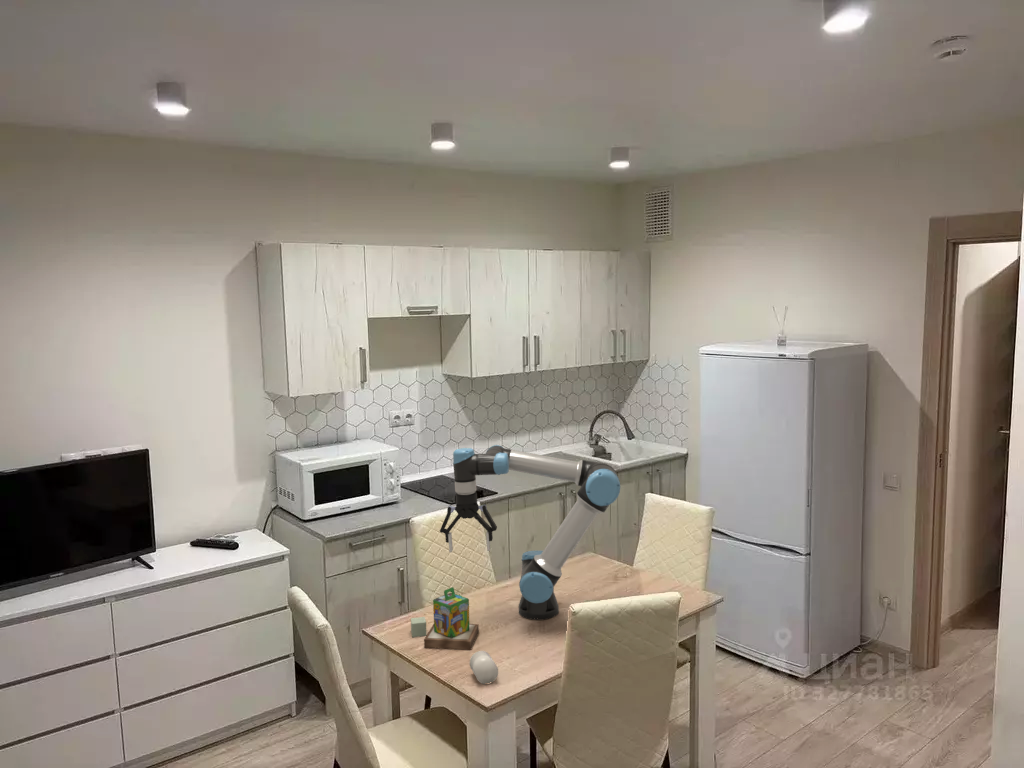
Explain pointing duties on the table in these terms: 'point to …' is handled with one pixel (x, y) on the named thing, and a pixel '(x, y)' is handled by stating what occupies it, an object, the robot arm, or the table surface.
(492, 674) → the white rounded capsule
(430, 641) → the podium
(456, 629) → the chalk box
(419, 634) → the sage block
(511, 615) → the table surface
